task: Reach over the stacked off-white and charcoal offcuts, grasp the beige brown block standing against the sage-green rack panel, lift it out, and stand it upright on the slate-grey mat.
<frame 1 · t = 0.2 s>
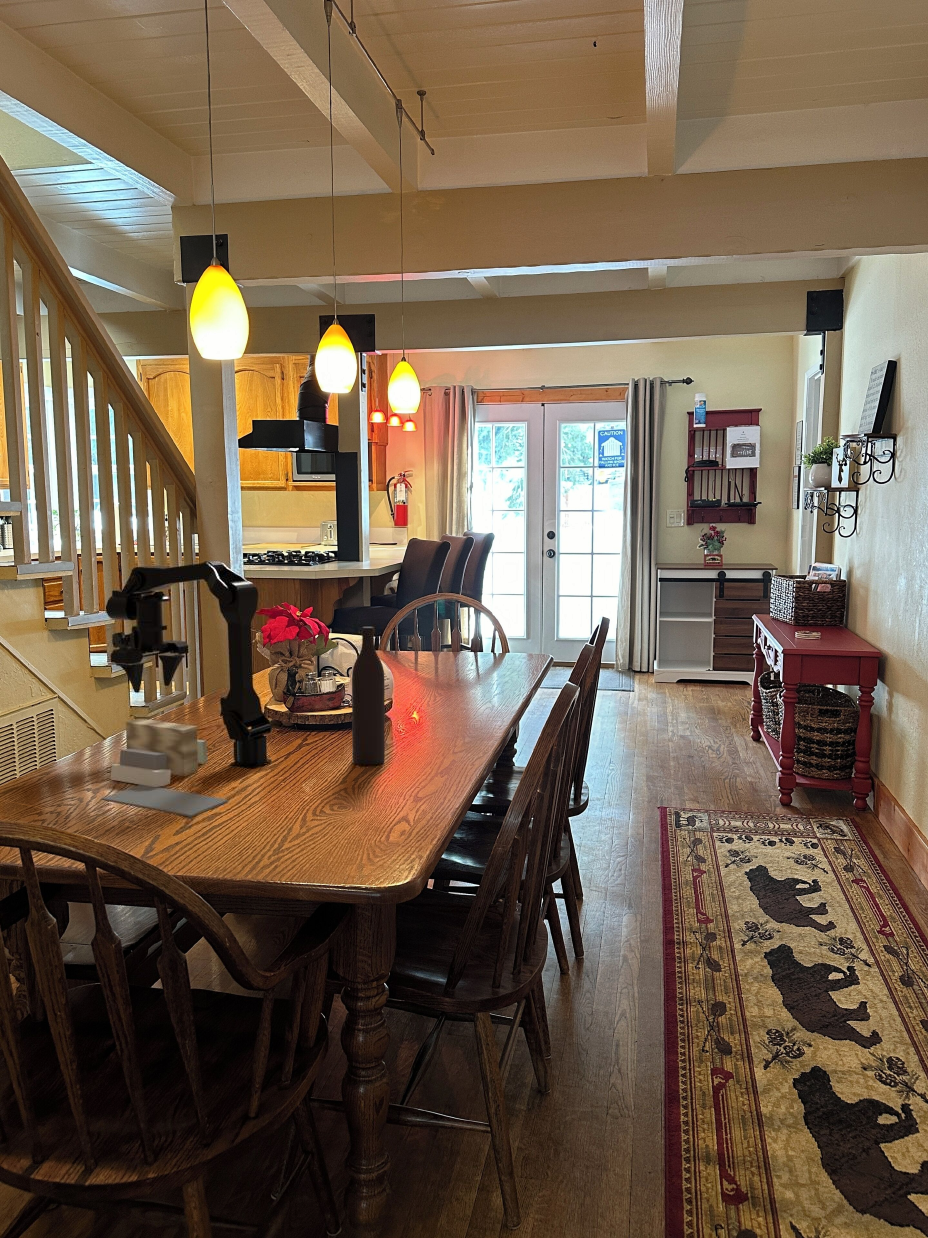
hand: (152, 689, 211), 14 cm above the table, fingers open, 9 cm apart
offcut lower: (140, 782, 187), on the table, tilted 9°
rack panel: (184, 760, 204), on the table
mat: (165, 801, 176), on the table
wine bottle: (368, 763, 204), on the table
offcut upper: (142, 766, 189), point 3 cm above the table, tilted 9°
beige brown block: (162, 770, 197), on the table
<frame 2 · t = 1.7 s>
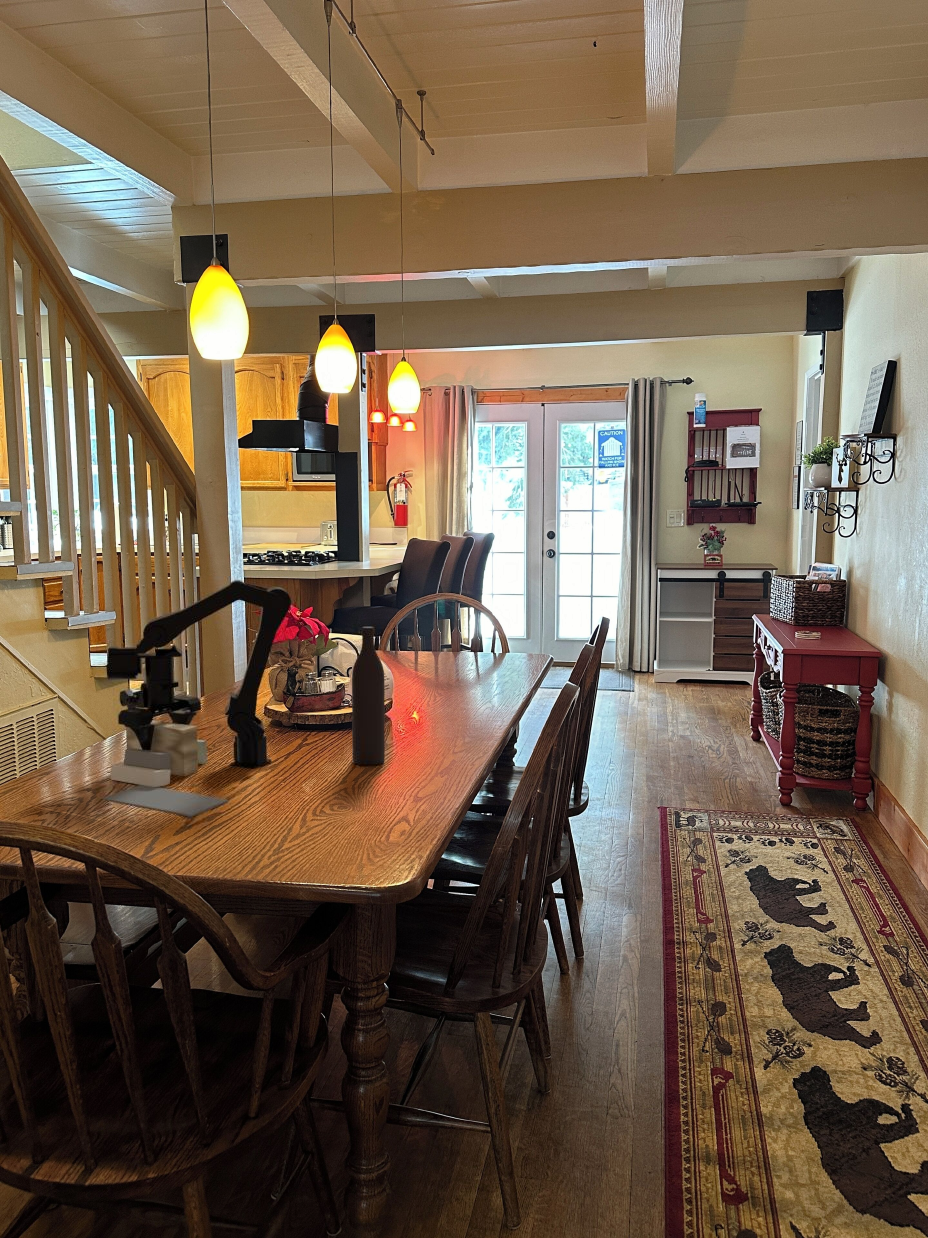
hand: (162, 750, 197), 4 cm above the table, fingers open, 8 cm apart
offcut lower: (139, 782, 187), on the table, tilted 8°, touching mat, offcut upper
offcut upper: (146, 766, 189), point 3 cm above the table, tilted 12°, touching gripper, offcut lower
everything else where it was.
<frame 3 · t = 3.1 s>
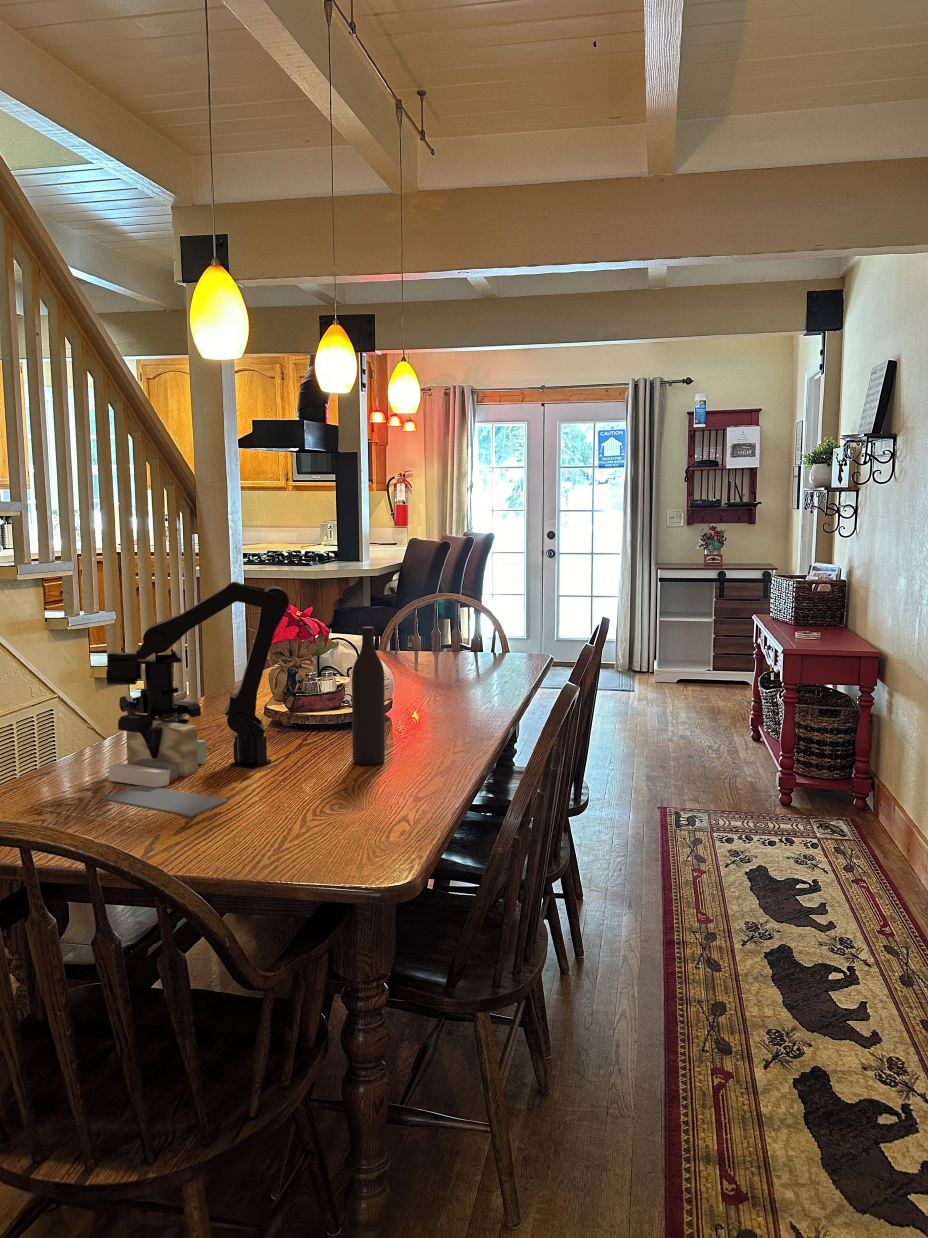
hand: (162, 755, 197), 3 cm above the table, fingers closed on beige brown block, 4 cm apart
offcut lower: (138, 782, 187), on the table, tilted 9°, touching mat
offcut upper: (150, 772, 190), point 1 cm above the table, tilted 89°
beige brown block: (162, 769, 197), on the table, touching gripper
everything else where it was.
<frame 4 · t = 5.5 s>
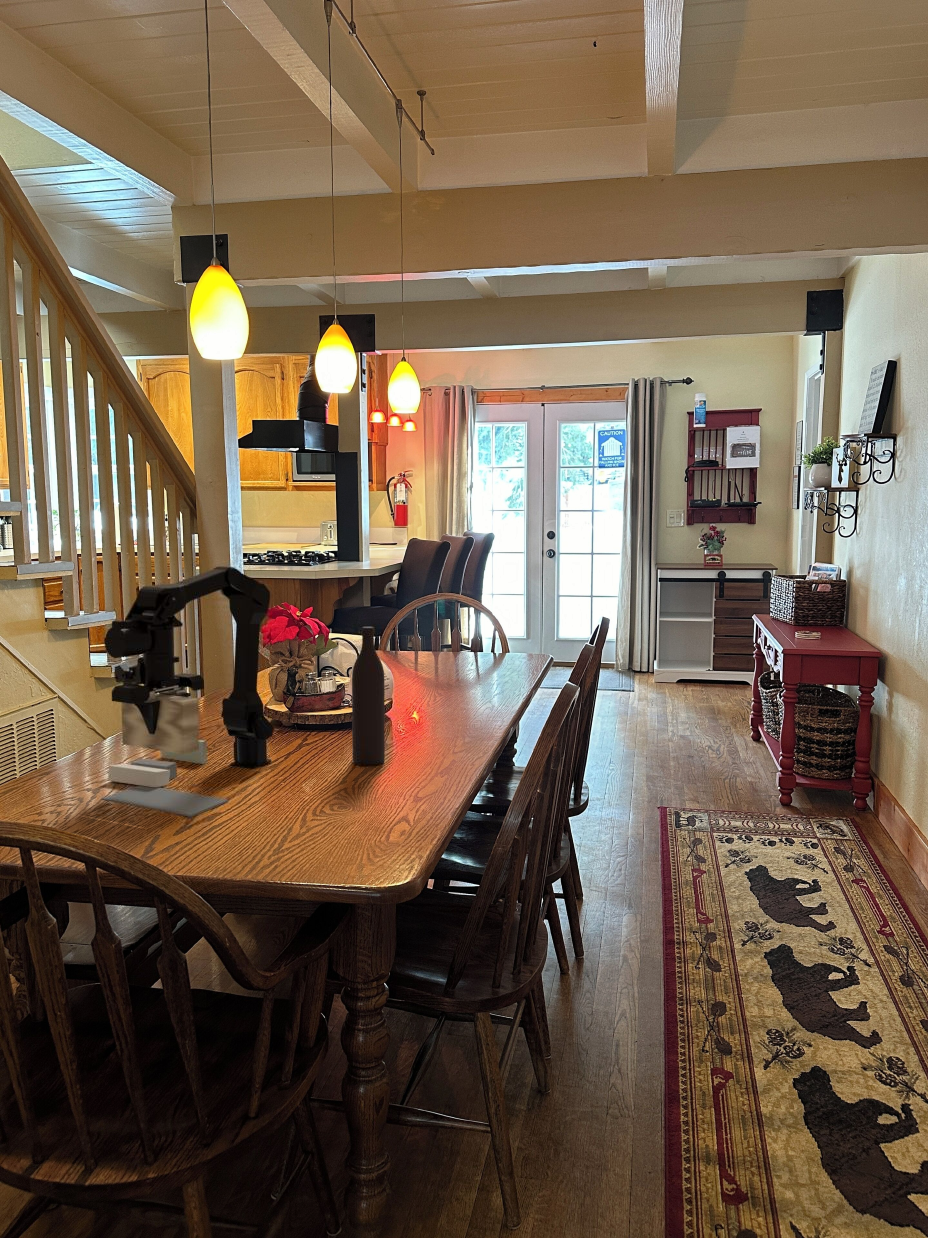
hand: (160, 731, 179), 12 cm above the table, fingers closed on beige brown block, 4 cm apart
beige brown block: (160, 747, 179), point 9 cm above the table, touching gripper
everything else where it was.
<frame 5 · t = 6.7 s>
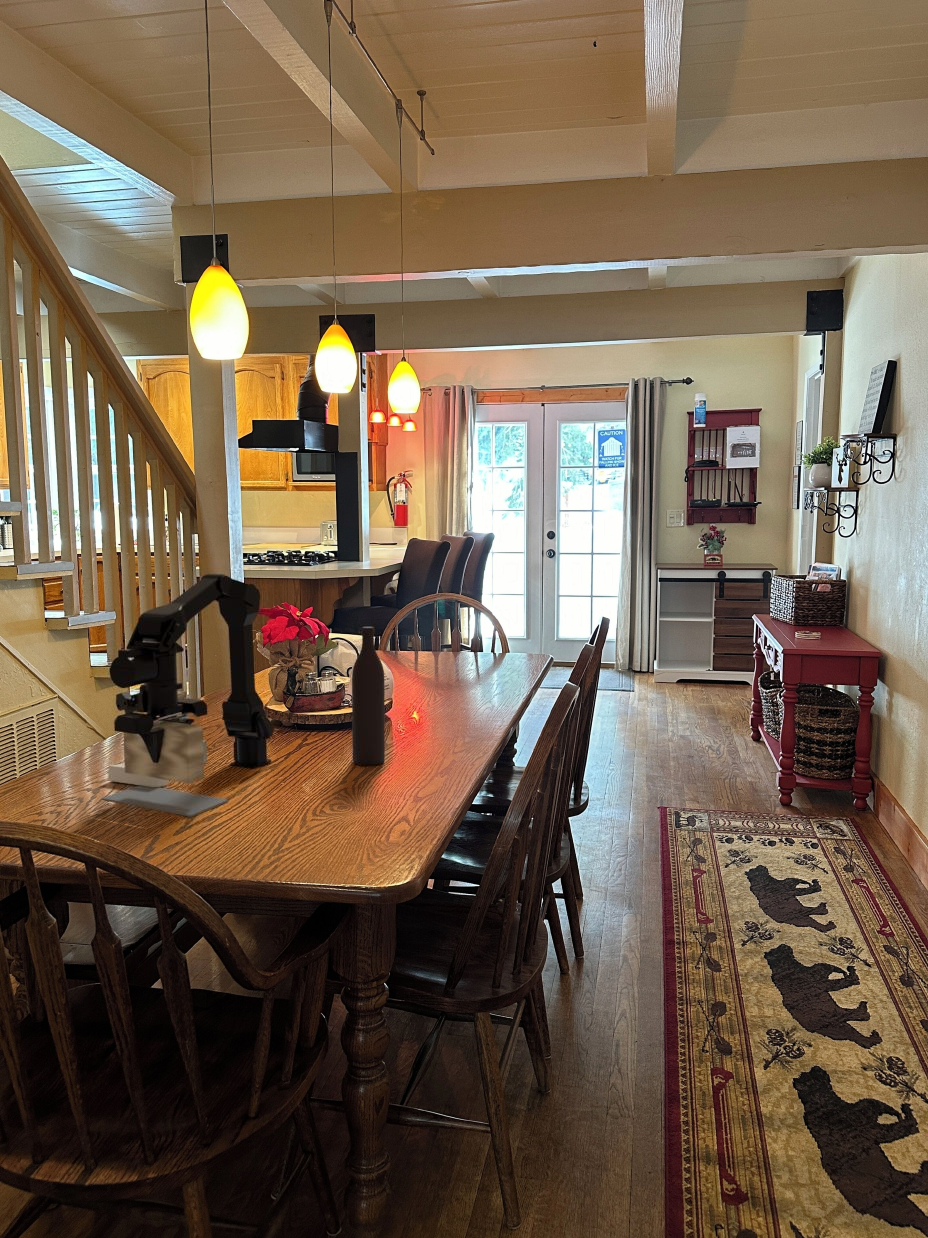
hand: (164, 760, 175), 8 cm above the table, fingers closed on beige brown block, 4 cm apart
beige brown block: (164, 775, 175), point 5 cm above the table, touching gripper
everything else where it was.
when the fingers open (5 cm above the table, at t = 8.0 s): beige brown block drops 1 cm, resting on mat.
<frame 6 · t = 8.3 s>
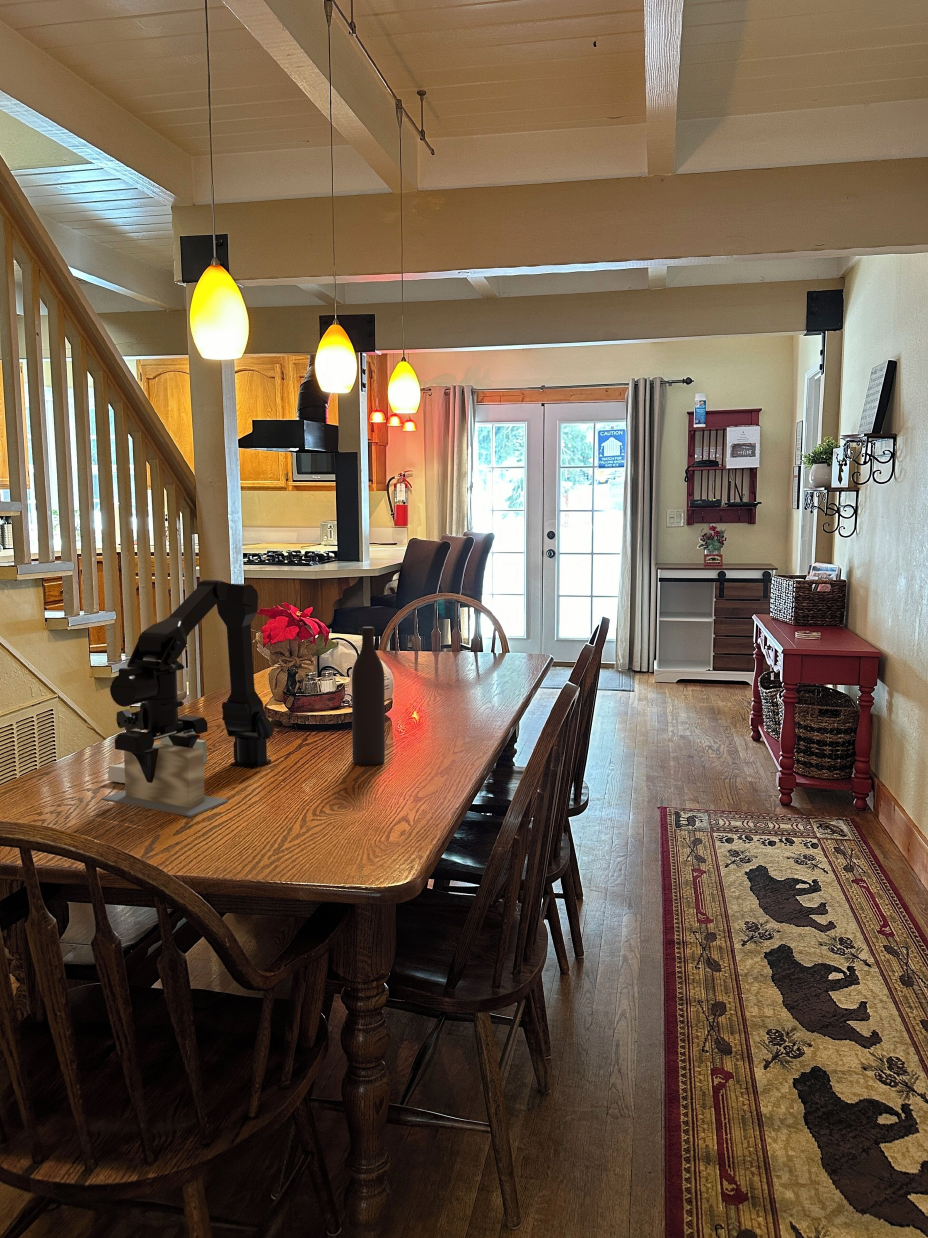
hand: (164, 777, 175), 5 cm above the table, fingers open, 7 cm apart
beige brown block: (164, 798, 176), resting on mat
everything else where it was.
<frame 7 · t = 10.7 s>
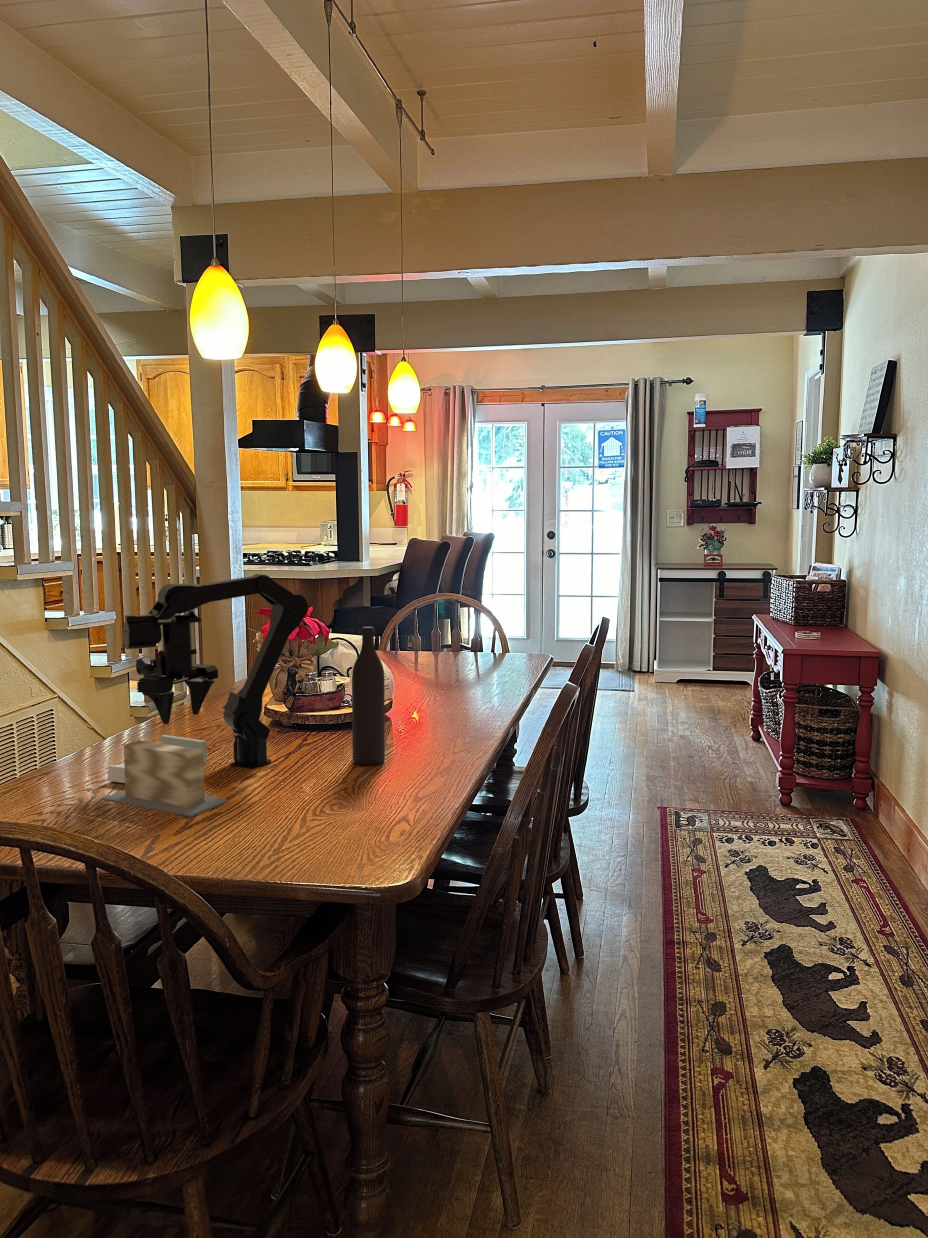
hand: (181, 719, 192), 12 cm above the table, fingers open, 9 cm apart
nothing on the table moved.
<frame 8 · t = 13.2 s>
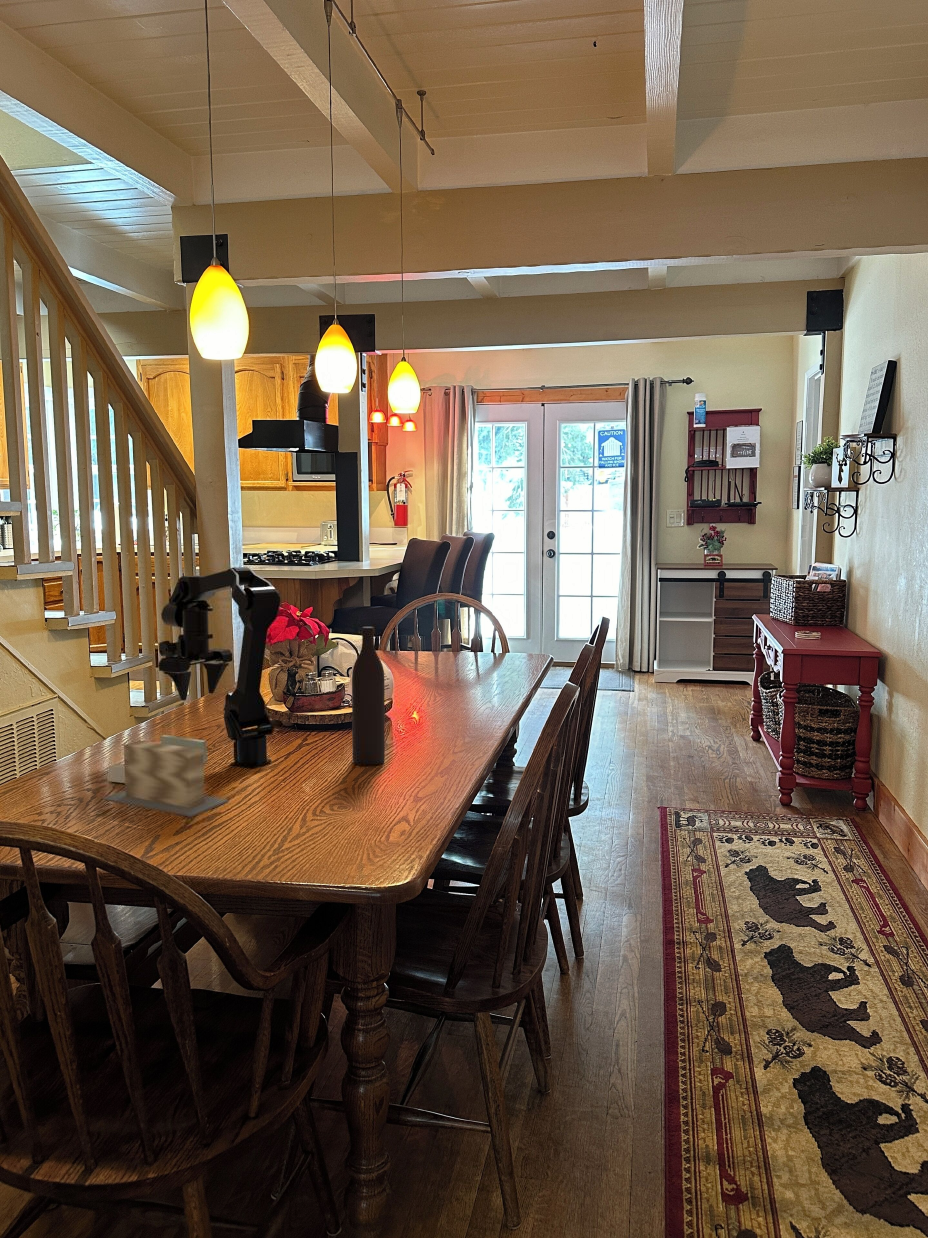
hand: (197, 696, 214), 12 cm above the table, fingers open, 9 cm apart
nothing on the table moved.
at the end: beige brown block inside the target area on the mat (0.1 cm from its centre), point 0.4 cm above the mat's base; beige brown block tilted 0°; the gripper is holding nothing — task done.
